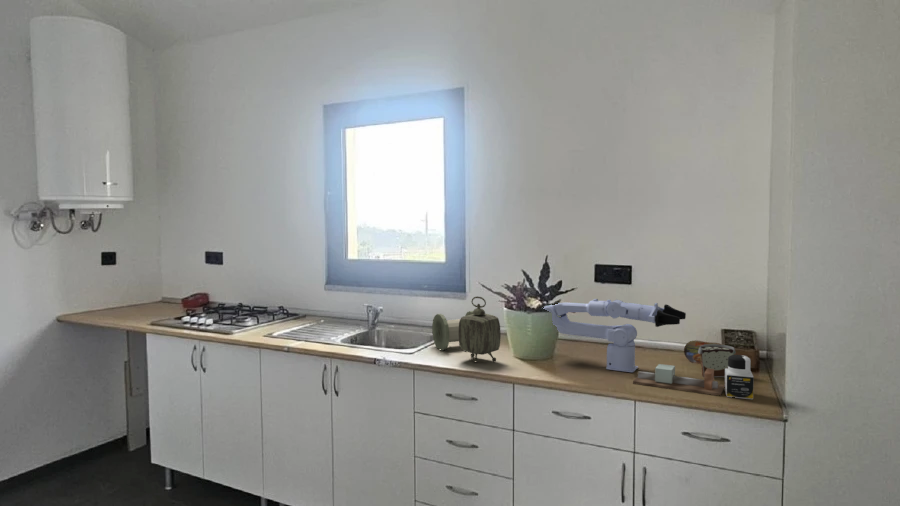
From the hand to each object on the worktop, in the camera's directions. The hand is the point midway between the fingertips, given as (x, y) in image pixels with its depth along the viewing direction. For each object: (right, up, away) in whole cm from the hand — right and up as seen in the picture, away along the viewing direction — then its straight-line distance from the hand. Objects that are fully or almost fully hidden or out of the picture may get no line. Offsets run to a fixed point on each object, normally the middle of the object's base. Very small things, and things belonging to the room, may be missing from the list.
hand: (682, 318), depth 184 cm
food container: (+12, -20, +5) cm, 24 cm away
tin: (+17, -19, +19) cm, 31 cm away
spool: (-75, -19, +49) cm, 92 cm away
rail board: (-4, -21, -7) cm, 22 cm away
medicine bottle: (+10, -21, -17) cm, 29 cm away
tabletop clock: (-67, -20, +27) cm, 75 cm away
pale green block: (-8, -20, -5) cm, 22 cm away
